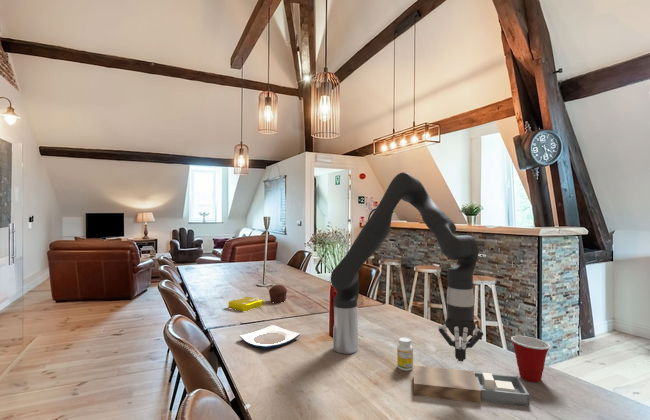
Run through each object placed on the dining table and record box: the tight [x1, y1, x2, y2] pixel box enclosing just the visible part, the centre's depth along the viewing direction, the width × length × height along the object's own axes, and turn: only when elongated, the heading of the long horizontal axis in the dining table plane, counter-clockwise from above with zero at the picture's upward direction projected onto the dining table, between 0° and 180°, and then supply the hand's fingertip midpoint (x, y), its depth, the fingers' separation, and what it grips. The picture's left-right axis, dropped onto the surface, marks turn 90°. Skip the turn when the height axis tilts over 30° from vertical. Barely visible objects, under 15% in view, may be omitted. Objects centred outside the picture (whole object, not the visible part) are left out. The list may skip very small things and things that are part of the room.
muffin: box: [268, 284, 288, 304], centre depth 211 cm, size 12×11×10 cm
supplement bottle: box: [396, 337, 414, 372], centre depth 118 cm, size 5×5×10 cm
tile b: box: [494, 380, 515, 392], centre depth 99 cm, size 4×4×2 cm
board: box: [413, 365, 482, 404], centre depth 103 cm, size 18×12×4 cm, turn 75°
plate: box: [239, 324, 301, 350], centre depth 146 cm, size 20×20×3 cm
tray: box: [474, 372, 531, 407], centre depth 100 cm, size 12×11×3 cm
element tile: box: [228, 296, 264, 312], centre depth 199 cm, size 15×15×5 cm
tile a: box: [481, 372, 495, 390], centre depth 100 cm, size 4×4×2 cm
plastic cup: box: [510, 335, 551, 383], centre depth 109 cm, size 11×11×12 cm
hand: (460, 360), depth 102 cm, fingers closed
